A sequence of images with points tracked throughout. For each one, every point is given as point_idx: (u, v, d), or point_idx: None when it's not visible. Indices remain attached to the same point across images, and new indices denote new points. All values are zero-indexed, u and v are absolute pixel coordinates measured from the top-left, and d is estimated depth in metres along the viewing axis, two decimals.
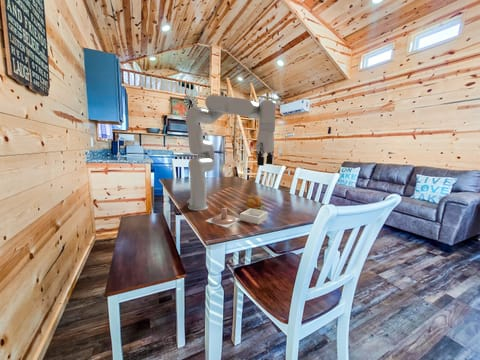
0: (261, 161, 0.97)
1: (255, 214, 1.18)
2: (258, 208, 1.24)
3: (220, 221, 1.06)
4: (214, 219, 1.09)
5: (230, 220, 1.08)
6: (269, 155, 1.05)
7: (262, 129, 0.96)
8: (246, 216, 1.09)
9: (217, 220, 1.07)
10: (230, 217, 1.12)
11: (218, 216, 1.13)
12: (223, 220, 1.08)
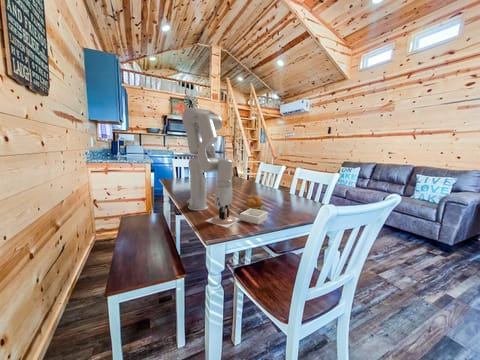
0: (222, 215, 1.07)
1: (255, 214, 1.18)
2: (258, 208, 1.24)
3: (220, 221, 1.06)
4: (214, 219, 1.09)
5: (230, 220, 1.08)
6: None
7: (219, 185, 1.04)
8: (246, 216, 1.09)
9: (217, 220, 1.07)
10: (230, 217, 1.12)
11: (218, 216, 1.13)
12: (223, 220, 1.08)
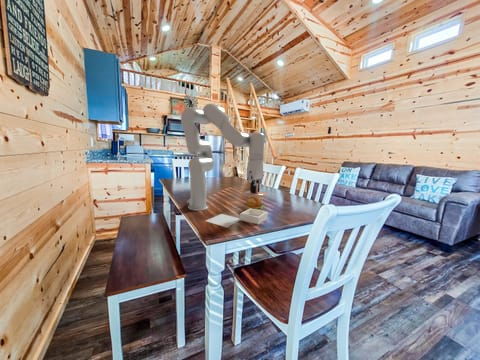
0: (253, 189, 1.08)
1: (255, 214, 1.18)
2: (258, 208, 1.24)
3: (252, 195, 1.06)
4: (245, 193, 1.09)
5: (262, 194, 1.08)
6: (256, 182, 1.11)
7: (251, 159, 1.05)
8: (246, 216, 1.09)
9: (249, 194, 1.08)
10: (260, 192, 1.12)
11: (248, 191, 1.13)
12: (254, 194, 1.08)
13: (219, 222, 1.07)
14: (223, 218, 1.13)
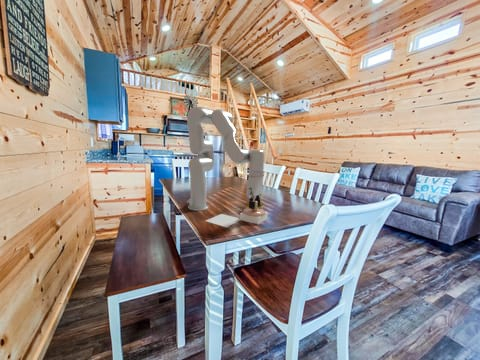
0: (252, 205, 1.08)
1: None
2: None
3: (252, 213, 1.08)
4: (245, 212, 1.11)
5: (261, 212, 1.10)
6: (257, 197, 1.14)
7: (251, 175, 1.06)
8: (246, 216, 1.09)
9: (248, 212, 1.09)
10: (260, 210, 1.14)
11: (248, 209, 1.15)
12: (254, 212, 1.10)
13: (219, 222, 1.07)
14: (223, 218, 1.13)
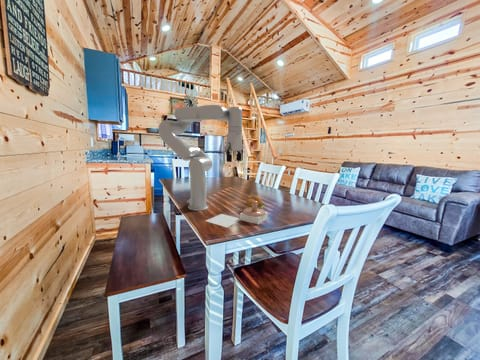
0: (229, 158, 1.14)
1: None
2: (259, 208, 1.24)
3: (252, 213, 1.08)
4: (245, 212, 1.11)
5: (261, 212, 1.10)
6: (238, 153, 1.22)
7: (230, 131, 1.13)
8: (246, 216, 1.09)
9: (248, 212, 1.09)
10: (260, 210, 1.14)
11: (248, 209, 1.15)
12: (254, 212, 1.10)
13: (219, 222, 1.07)
14: (223, 218, 1.13)
